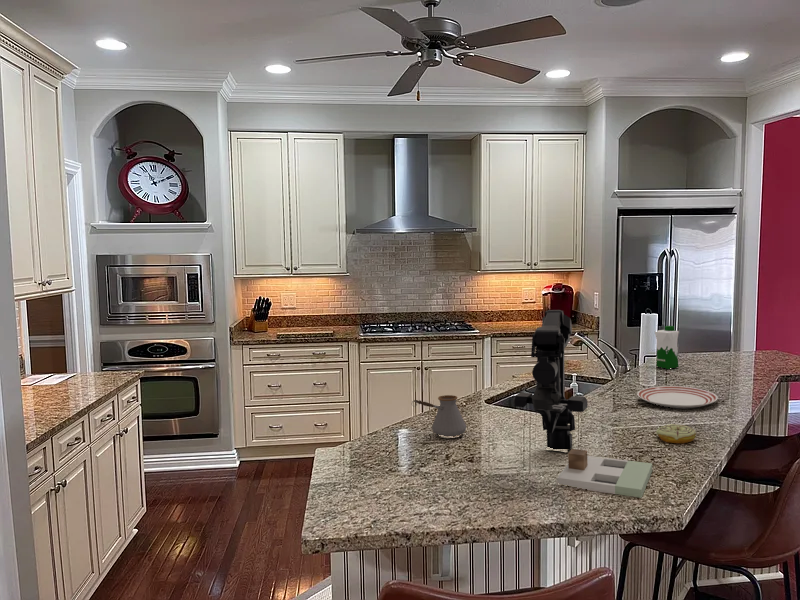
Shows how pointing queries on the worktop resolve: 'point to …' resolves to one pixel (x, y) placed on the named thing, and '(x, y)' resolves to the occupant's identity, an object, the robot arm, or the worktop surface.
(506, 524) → the worktop surface
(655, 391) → the dinner plate
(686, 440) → the decorated donut
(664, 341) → the milk carton
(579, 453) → the walnut block
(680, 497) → the worktop surface
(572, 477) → the trap deck
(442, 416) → the coffee pot
